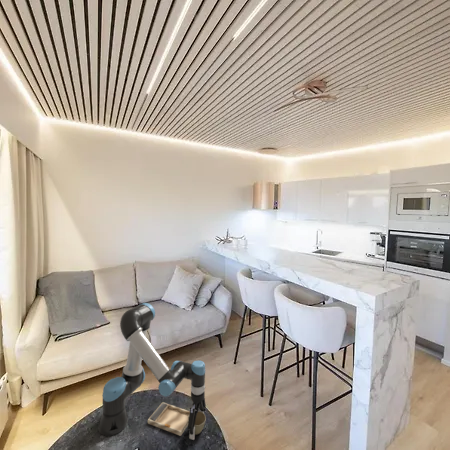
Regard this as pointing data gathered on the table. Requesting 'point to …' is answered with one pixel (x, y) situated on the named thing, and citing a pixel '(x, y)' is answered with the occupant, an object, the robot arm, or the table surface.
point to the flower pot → (199, 422)
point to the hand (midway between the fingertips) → (196, 430)
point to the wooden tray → (170, 418)
